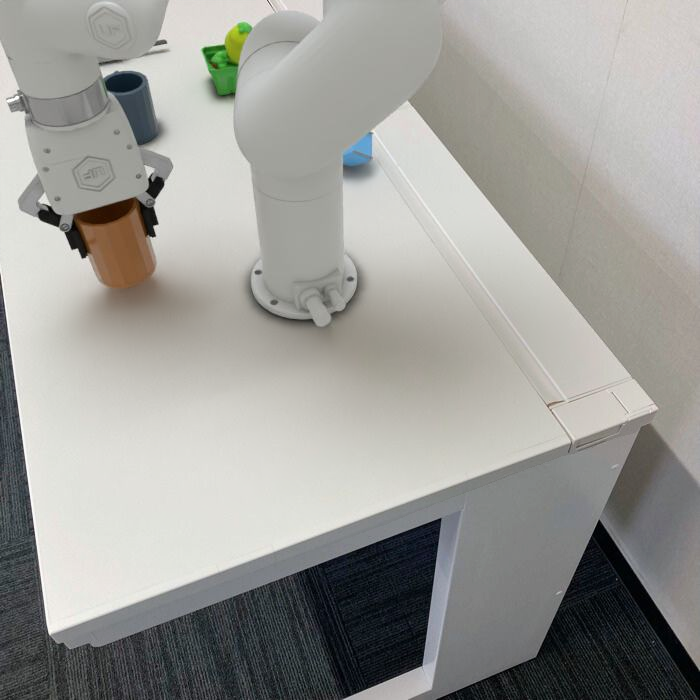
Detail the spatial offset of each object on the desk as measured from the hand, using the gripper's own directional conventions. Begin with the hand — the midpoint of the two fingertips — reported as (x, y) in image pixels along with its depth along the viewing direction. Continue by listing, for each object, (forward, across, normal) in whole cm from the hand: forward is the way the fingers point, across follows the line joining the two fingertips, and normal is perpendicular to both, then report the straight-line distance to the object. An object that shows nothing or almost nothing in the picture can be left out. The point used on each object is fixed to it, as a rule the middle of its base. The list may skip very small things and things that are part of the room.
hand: (116, 239), depth 86 cm
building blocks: (+8, +31, +16) cm, 36 cm away
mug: (+7, +8, +34) cm, 36 cm away
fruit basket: (+8, +27, +38) cm, 48 cm away
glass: (+4, 0, 0) cm, 4 cm away
